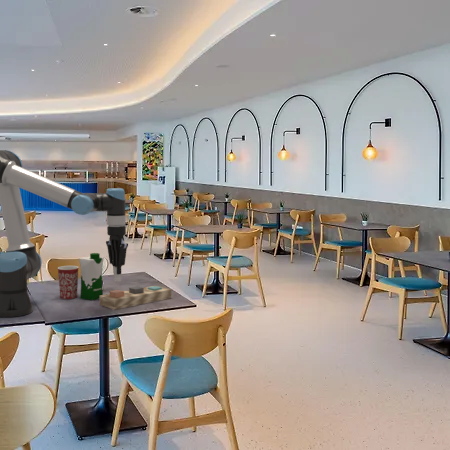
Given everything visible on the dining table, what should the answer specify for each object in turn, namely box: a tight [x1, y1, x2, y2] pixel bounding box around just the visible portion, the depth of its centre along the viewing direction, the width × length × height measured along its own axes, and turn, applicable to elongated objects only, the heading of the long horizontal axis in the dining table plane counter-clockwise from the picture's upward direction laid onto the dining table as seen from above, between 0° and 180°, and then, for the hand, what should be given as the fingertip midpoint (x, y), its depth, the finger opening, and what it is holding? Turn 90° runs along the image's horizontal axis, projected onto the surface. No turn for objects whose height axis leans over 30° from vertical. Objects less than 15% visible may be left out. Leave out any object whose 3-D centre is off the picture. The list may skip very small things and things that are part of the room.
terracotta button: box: [109, 289, 125, 298], centre depth 233 cm, size 4×4×3 cm
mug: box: [56, 265, 80, 300], centre depth 247 cm, size 13×9×14 cm
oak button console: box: [99, 285, 172, 311], centre depth 240 cm, size 30×11×4 cm, turn 135°
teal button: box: [147, 285, 163, 291], centre depth 247 cm, size 4×4×3 cm
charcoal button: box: [128, 285, 145, 294], centre depth 240 cm, size 4×4×3 cm
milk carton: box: [78, 252, 105, 301], centre depth 244 cm, size 9×9×20 cm
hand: (117, 281), depth 232 cm, fingers closed
